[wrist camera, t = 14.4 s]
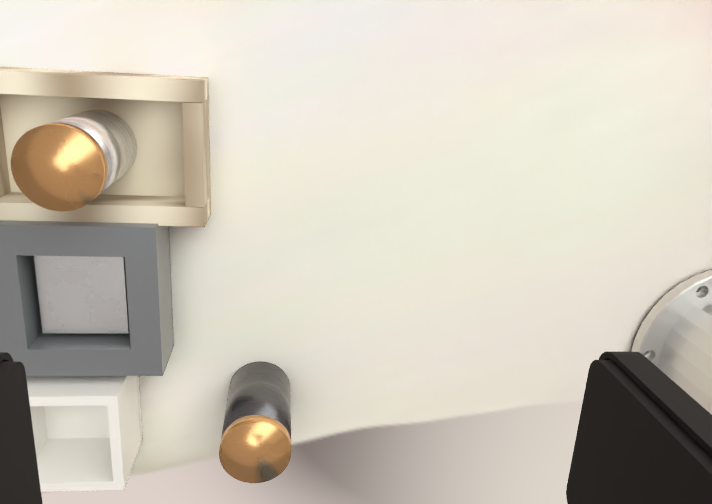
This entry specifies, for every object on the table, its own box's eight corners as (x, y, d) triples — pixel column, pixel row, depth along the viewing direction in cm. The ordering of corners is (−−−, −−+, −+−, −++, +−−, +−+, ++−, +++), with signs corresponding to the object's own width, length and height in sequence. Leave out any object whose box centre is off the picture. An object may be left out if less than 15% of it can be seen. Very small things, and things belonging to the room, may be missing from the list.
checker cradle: (167, 209, 37) (155, 227, 33) (173, 345, 40) (162, 375, 36) (8, 205, 36) (-23, 223, 32) (25, 345, 39) (-1, 376, 35)
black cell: (290, 361, 41) (291, 422, 35) (289, 413, 42) (290, 481, 36) (229, 361, 41) (218, 423, 34) (229, 414, 42) (219, 484, 35)
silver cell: (135, 110, 34) (99, 126, 28) (139, 181, 36) (106, 212, 29) (59, 107, 34) (5, 122, 27) (66, 179, 35) (16, 210, 29)
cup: (137, 354, 40) (117, 396, 35) (142, 439, 42) (124, 489, 37) (31, 354, 39) (-3, 397, 34) (42, 441, 41) (11, 492, 36)
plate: (126, 252, 36) (123, 256, 35) (131, 327, 37) (128, 333, 36) (38, 250, 35) (33, 255, 34) (47, 327, 37) (42, 333, 36)
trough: (208, 77, 35) (201, 80, 32) (210, 213, 37) (204, 227, 34) (-20, 66, 33) (-48, 68, 31) (-1, 208, 36) (-26, 222, 33)
